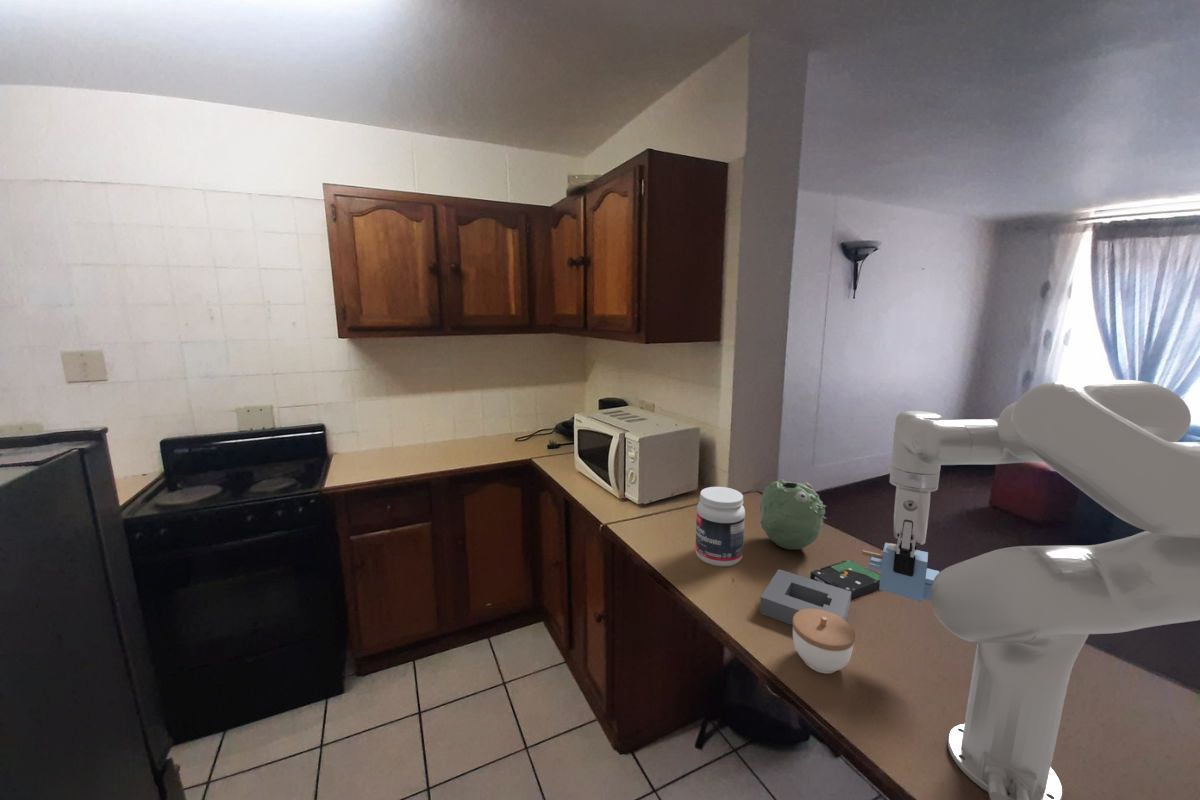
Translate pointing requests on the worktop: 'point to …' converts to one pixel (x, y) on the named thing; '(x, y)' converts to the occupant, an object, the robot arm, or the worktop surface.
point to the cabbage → (791, 514)
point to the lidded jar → (822, 639)
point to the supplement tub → (720, 526)
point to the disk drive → (848, 577)
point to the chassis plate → (801, 597)
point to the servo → (900, 583)
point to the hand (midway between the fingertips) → (904, 566)
